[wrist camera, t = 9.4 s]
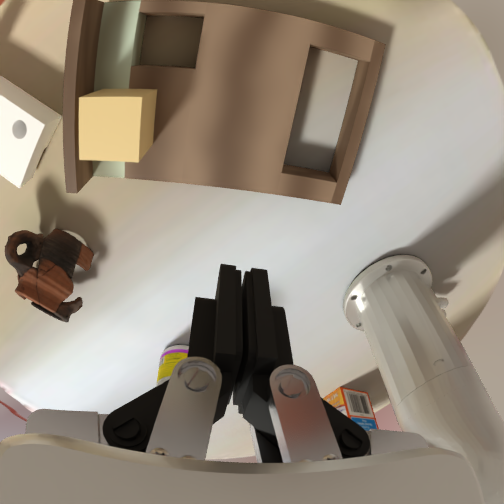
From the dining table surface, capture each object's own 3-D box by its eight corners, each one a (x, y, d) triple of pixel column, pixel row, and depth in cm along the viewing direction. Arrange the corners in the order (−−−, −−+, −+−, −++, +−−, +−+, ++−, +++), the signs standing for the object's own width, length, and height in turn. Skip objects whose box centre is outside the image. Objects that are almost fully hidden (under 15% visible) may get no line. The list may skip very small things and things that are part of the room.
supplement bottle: (214, 364, 44) (214, 445, 34) (175, 372, 45) (169, 448, 35) (194, 338, 41) (189, 426, 30) (152, 347, 41) (139, 430, 31)
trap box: (372, 44, 21) (407, 45, 16) (332, 192, 30) (353, 224, 25) (104, 6, 18) (73, -2, 13) (93, 165, 26) (66, 192, 21)
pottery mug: (117, 266, 34) (88, 332, 30) (77, 264, 38) (52, 319, 34) (40, 200, 25) (-2, 274, 21) (13, 211, 29) (-20, 270, 25)
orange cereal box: (339, 386, 51) (376, 542, 27) (367, 392, 54) (405, 531, 30) (266, 434, 62) (279, 557, 37) (294, 437, 65) (311, 552, 40)
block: (157, 89, 21) (142, 97, 17) (152, 144, 23) (138, 162, 20) (102, 88, 20) (79, 97, 17) (101, 141, 23) (79, 159, 19)
